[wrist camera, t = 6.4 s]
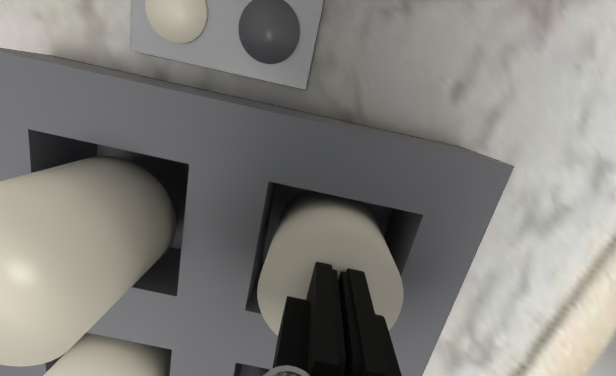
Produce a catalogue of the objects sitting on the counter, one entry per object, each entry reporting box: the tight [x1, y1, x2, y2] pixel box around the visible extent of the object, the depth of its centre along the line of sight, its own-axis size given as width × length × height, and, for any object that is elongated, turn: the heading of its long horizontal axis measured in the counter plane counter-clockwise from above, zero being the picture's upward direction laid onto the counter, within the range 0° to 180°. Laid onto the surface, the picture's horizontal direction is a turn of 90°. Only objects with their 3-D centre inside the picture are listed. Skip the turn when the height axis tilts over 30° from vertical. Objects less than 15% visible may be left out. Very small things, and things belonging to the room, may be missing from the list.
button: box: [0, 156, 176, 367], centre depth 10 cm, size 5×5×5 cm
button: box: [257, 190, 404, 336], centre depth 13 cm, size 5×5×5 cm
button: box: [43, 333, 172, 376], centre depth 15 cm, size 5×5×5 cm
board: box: [0, 48, 514, 376], centre depth 15 cm, size 20×20×4 cm
